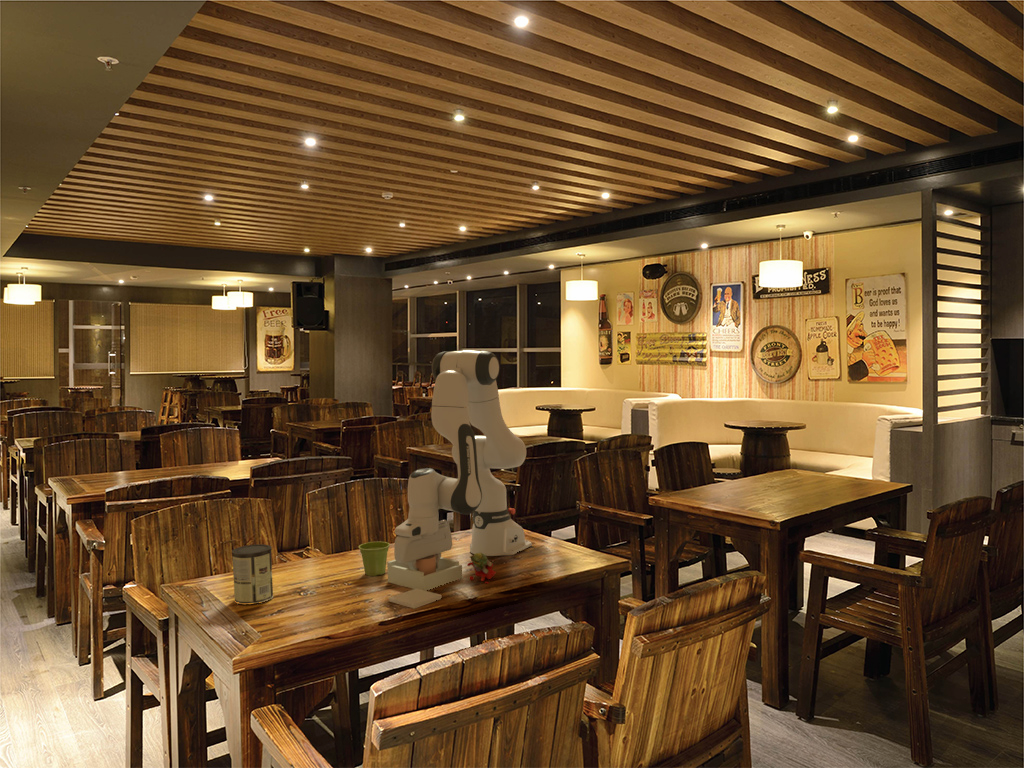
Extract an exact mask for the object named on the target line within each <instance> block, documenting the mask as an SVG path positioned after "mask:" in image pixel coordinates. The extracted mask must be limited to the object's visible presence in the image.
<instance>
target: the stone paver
mask: <svg viewBox="0 0 1024 768" xmlns="http://www.w3.org/2000/svg"><path fill="white" fill-rule="evenodd" d="M442 597H443V596H442V594H439V593H436V592H432V591H429V590H428V591H425V590H421V589H417V588H416V589H410V590H408V591H405V592H402V593H399V594H396V595H393V596H390V597H388V602H390V603H393V604H397V605H400V606H403V607H408V608H409V609H414V610H416V609H418V608H420V607H423V606H426V605H428V604H431V603H434V602H436V600H437V601H439V600H442V599H441V598H442Z"/></svg>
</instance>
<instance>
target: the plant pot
mask: <svg viewBox="0 0 1024 768" xmlns="http://www.w3.org/2000/svg"><path fill="white" fill-rule="evenodd" d="M390 546H391V544H390V543H389V542H386V541H369V542H365V543H361V544H359V545H358V549H359V551H360V554H361V559H362V563H363V570H364V574H365V575H366V576H368V577H369V576H370V577H375V576H379V575H384V574H385V573H386V568H387V558H388V552H389V547H390Z"/></svg>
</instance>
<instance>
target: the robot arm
mask: <svg viewBox="0 0 1024 768" xmlns="http://www.w3.org/2000/svg"><path fill="white" fill-rule="evenodd" d="M431 373H432V376H433V378H434V380H435V382H434V386H433V392H432V393H433V394H432V398H431V400H432V401H431V411H430V412H431V415H430V416H431V417H430V418H431V424H432V427H433V429H435V431H436V432H437V433H438V434H439V435H440V436H442V437H443V438H445V439H446V440H448V441H449V442H450V443H451V444H452V447H451V457H452V459H453V461H454V463H455V464H456V467H457V478H454V477H450V476H445V475H443V474H440V473H438V472H437V471H435V469H434V468H431V467H429V468H428V467H426V468H425V467H424V468H419V469H416V470H414V471H412V472H411V473H410V475H409V477H408V482H407V503H408V507H409V509H408V515H407V516H408V518H407V519H406V520H405V521H404V522H402V523H401V524H399V525H397V526H396V527H395V529H394V534H395V535H396V537H395V539H394V546H393V548H394V549H393V550H394V560H396V561H397V562H399V563H403V564H405V563H408V565H409V566H410V568H411V569H412V570H416V571H419V568H416V566H415V564H416V560H418V559H421V558H425V557H428V556H431V555H435V556H436V568H438V562H439V560H440V558H441V557H442V553H444V552H447V551H450V550H452V547H453V538H452V532H451V528H450V523H449V521H448V520H447V519H442V520H439V519H440V518H439V510H441V509H443V510H446V511H451V512H455V513H458V514H461V515H465V516H468V515H471V514H472V521H473V524H472V528H471V529H472V530H471V531H472V532H471V543H470V544H469V552H470V553H471V554H473V555H474V554H476V553H482V554H485V556H486V557H494V556H495V557H498V556H514V555H515V554H518V553H519V551H520V552H521V551H523V550H525V549H527V548H529V547H532V545H533V543H532V542H531V541H529V540H528V539H527V540H526V539H525V538H526V536H525V531H524V528H523V527H522V526H521V525H520V524H518V523H516V522H515V521H514V520H513V519H512V518H511V515H515V514H516V509H515V508H511V507H509V508H508V506H507V505H508V504H507V488H506V485H505V484H504V482H502V481H501V480H500V479H498V478H496V477H495V476H494V475H493V474H492V472H491V469H498V470H499V469H503V470H504V469H505V470H507V469H513V468H518V467H519V468H520V466H522V465H523V463H524V462H525V460H526V457H527V447H526V444H525V443H524V441H523V440H522V438H520V437H518V436H517V435H516V434H515V433H514V432H513V431H512V430H511V429H510V428H509V427H508V426H507V424H506V422H505V420H504V418H503V414H502V413H503V412H502V409H501V404H500V396H499V388H498V385H497V384H498V383H497V378H498V376H499V374H500V361H499V359H498V357H497V355H495V354H494V353H493V352H492V351H488V350H487V351H486V350H481V351H480V350H475V349H474V350H473V349H463V350H453V351H452V350H451V351H448V350H446V351H442V352H439V353H437V354H436V355H435V357H434V358H433V360H432V362H431ZM473 427H474V428H475V429H478V430H480V432H481V433H482V434H483V435H476V434H475V431H474V429H473ZM517 552H518V553H517Z"/></svg>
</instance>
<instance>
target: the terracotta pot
mask: <svg viewBox="0 0 1024 768" xmlns="http://www.w3.org/2000/svg"><path fill="white" fill-rule="evenodd" d="M415 566H416V568H419V571H420V572H424V576H425V575H428V574H431V573H434V572H436V556H435V555H431V556H428V557H425V558H421V559H418V560H416V564H415Z"/></svg>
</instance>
